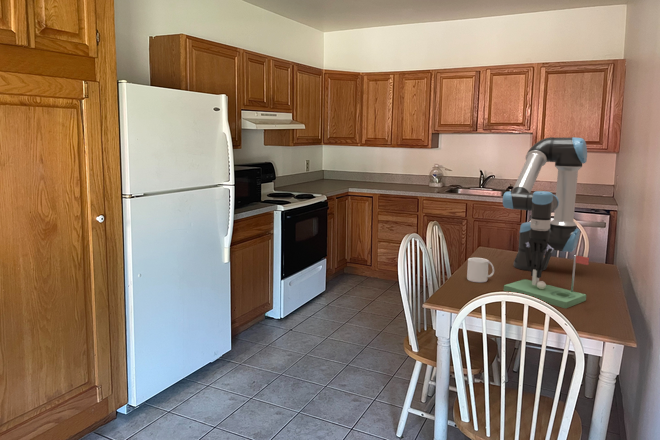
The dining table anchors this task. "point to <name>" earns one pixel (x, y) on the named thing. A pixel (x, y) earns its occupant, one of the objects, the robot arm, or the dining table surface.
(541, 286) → the ball
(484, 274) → the mug
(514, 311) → the dining table surface
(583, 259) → the flag pin
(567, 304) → the green
